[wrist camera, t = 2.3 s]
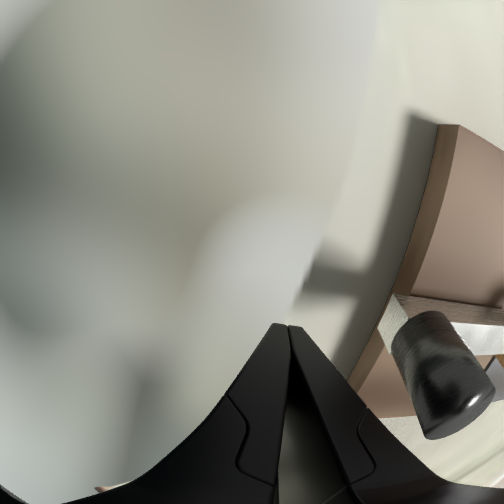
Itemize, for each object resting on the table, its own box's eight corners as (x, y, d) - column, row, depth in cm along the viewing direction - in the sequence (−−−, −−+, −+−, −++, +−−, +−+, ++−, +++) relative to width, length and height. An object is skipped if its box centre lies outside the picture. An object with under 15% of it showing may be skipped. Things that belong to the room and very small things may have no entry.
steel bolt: (491, 341, 10) (535, 407, 6) (369, 335, 10) (408, 444, 6) (511, 303, 9) (567, 365, 5) (392, 283, 9) (458, 389, 5)
